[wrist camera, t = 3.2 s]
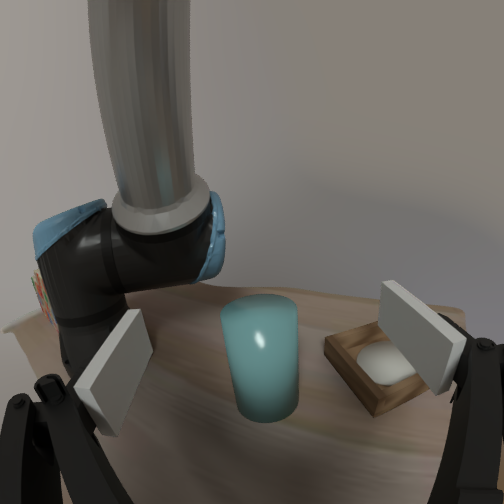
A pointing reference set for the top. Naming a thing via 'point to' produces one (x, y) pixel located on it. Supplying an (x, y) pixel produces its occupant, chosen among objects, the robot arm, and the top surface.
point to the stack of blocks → (43, 297)
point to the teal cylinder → (263, 355)
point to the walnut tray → (368, 392)
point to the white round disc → (384, 363)
